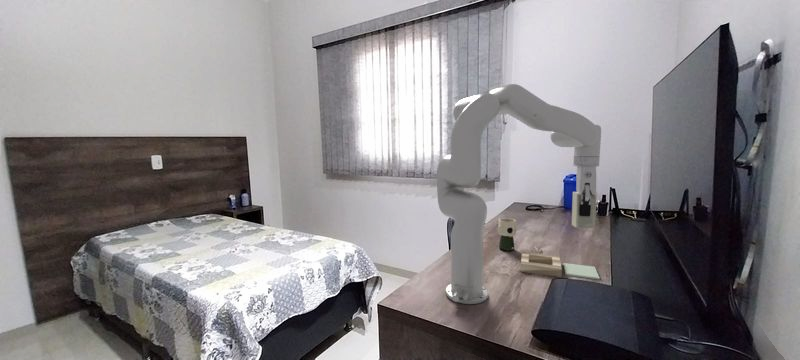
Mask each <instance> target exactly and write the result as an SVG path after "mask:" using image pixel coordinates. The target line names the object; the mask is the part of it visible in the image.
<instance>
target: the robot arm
mask: <svg viewBox="0 0 800 360" xmlns="http://www.w3.org/2000/svg"><path fill="white" fill-rule="evenodd" d="M505 114H506V115H509V116H511V117H512V118H513V119H515V120H518V121H519V122H521V123H523V124H524V125H526V126H527V127H529V128H531V129H533V130H538V131H542V132H550V140H551V142H552V143H553V144H554V145H555V146H557V147H559V148H573V149H574V150H573V163H572V164H573V165H572V166H573V167H576V179H575V180H576V183H575V184H576V187H575V189H576V191H575V192H578V193H579V195H581V204H580V207H579V215H580V216H588V217H589V216H590V212H591V194H592V195H593V196H596V193H597V168H598V167H600V161H601V160H600V159H601V156H600V155H601V141H602V139H601V138H602V127H601V126H600V125H599V124H595V123H594V122H593V121H592V120H591V119H588V118H587V117H585V116H584V115H582V114H580V113H578V112H575V111H573V110H570V109H566V108H564V107H563V108H562V107H560V106H557V105H552V104H549V103H547V102H546V101H544V100H543V99H541V98H540V97H538V96H536V95H535V94H534V93H532V92H531V91H530V90H528V89H526V88H525V87H523V86H521V85H519V84H517V83H510V84H506V85H502V86H499V87H495V88H491V89H490V90H487V91H484V92H481V93H478V94H475V95H472V96H468V97H465V98H462V99H460V100H458V102H456V103H455V106H454V107H453V115H452V116H453V118H454V121H455V122H454V124H453V127H452V130H451V134H450V154H447V155H446V156H444V157H443V158H442V159H440V161H439V163H438V165H437V169H436V190H437V194H436V195H437V205H438V208H439V210H440V212H441V213H442V214H443V215H444V216H446V217H447V218H450V219H452V220H453V221H454V223H453V225H452V226H453V227H452V230H451V233H450V284H448V285H446V288H445V295H446V296H447V297H448V298H449V299H450V300H452V301H453V302H455V303H459V304H465V305H476V304H480V303H483V302H485V301H486V300H487V299H488V297H489V292H488V290H487V288H485V286H484V285H483V283H484V282H483V280H484V279H483V278H484V271H483V270H484V234H485V233H484V232H485V225H486V220H487V215H488V207H487V204H486V201H485V200H484V199H483V197H481V195H479V194H477V193H474V192H471V191H468V190H465V189H466V188H467V189H470V188H474V187H476V186H477V185H479V183H480V181H481V178H482V156H481V154H482V150H481V147H482V146H481V145H482V144H481V143H482V137H483V133H484V131H485V129H486V128H487V127H488V126H489V124H490V123H491V122H492V121H494V120H495V119H496V118H497V116H500V115H505ZM583 193H584V194H585V195H583ZM583 197H584V198H583ZM596 197H597V196H596Z"/></svg>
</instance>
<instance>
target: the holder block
mask: <svg viewBox="0 0 800 360" xmlns="http://www.w3.org/2000/svg"><path fill="white" fill-rule="evenodd" d="M520 258H521V260H520V272H521V273H526V274H535V275H536V274H537V275H542V276H547V277H548V276H550V277H555V276H556V277H557V278H562V276H563V275H562V274H563V273H562V271H563V270H562V269H563V268H562V263H561V259H560V255H554V254H547V253H546V254H545V253H538V252H530V251H521V257H520Z"/></svg>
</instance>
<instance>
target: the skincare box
mask: <svg viewBox="0 0 800 360" xmlns="http://www.w3.org/2000/svg"><path fill="white" fill-rule="evenodd" d="M583 195H585V194H584V193H583ZM583 198H584V197H583ZM571 201H572V202H571V204H572V205H571V226H572V227H575V228H576V229H596V217H597V216H596V214H597V192H596V196H593V195H592V194H591V212H590V216H589V217H588V216H580V215H579V207H580V204H581V195H579V193H578V192H577V191H572V200H571Z"/></svg>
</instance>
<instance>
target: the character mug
mask: <svg viewBox="0 0 800 360" xmlns="http://www.w3.org/2000/svg"><path fill="white" fill-rule="evenodd" d="M516 228H517V220H516V218H515V219H514V218H509V217H501V218H498V226H497V234H498V235H500V238H499V242H498V244H499V246H498V248H499V249H501V250H503V251H513V250H515V239H514V236H516V234H517V229H516Z"/></svg>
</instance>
